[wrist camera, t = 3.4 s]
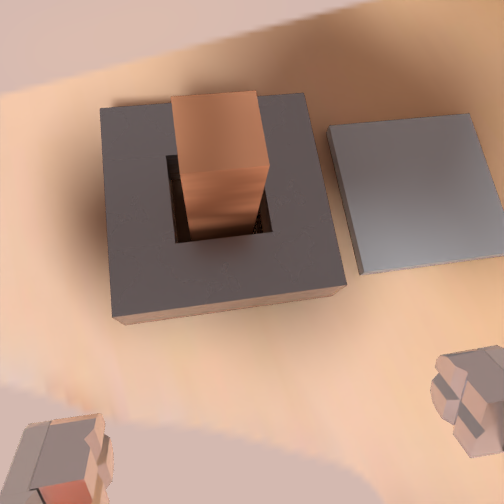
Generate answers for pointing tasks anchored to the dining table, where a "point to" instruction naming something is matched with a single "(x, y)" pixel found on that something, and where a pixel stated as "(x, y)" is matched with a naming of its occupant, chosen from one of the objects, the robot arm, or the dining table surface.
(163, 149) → the collar block
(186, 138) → the peg
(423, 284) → the dining table surface
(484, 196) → the mat
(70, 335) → the dining table surface
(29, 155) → the dining table surface
